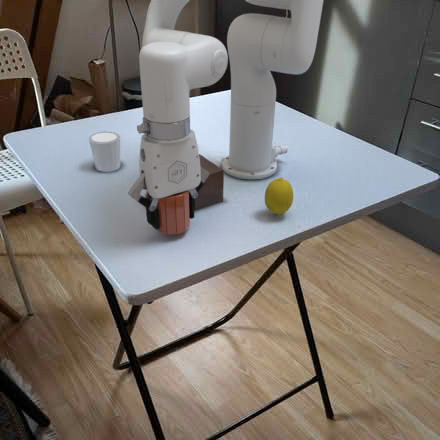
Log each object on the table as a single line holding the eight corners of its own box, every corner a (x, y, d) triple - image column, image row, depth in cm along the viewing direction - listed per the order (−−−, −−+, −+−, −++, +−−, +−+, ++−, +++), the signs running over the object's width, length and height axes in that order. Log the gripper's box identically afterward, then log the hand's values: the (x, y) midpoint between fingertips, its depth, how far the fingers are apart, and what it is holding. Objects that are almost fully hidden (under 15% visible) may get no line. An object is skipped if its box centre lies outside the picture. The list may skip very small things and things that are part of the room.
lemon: (271, 224, 100) (274, 186, 95) (258, 211, 104) (261, 174, 99) (296, 218, 102) (300, 181, 97) (282, 205, 106) (286, 169, 101)
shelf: (198, 183, 113) (198, 152, 109) (223, 201, 107) (223, 170, 103) (149, 197, 108) (147, 166, 103) (172, 217, 102) (171, 185, 97)
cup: (178, 212, 101) (176, 177, 96) (196, 227, 96) (195, 191, 92) (147, 222, 98) (144, 185, 93) (165, 238, 93) (163, 201, 89)
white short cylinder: (117, 174, 116) (113, 144, 112) (88, 171, 117) (83, 141, 112) (127, 161, 121) (124, 132, 117) (99, 158, 122) (95, 129, 118)
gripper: (129, 145, 79) (139, 244, 90) (223, 123, 87) (221, 216, 98) (108, 129, 84) (120, 224, 95) (199, 109, 92) (200, 200, 103)
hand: (171, 220), depth 96 cm, fingers closed on cup, 6 cm apart
